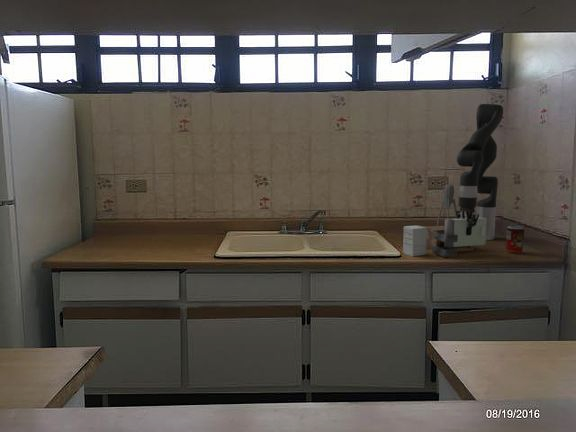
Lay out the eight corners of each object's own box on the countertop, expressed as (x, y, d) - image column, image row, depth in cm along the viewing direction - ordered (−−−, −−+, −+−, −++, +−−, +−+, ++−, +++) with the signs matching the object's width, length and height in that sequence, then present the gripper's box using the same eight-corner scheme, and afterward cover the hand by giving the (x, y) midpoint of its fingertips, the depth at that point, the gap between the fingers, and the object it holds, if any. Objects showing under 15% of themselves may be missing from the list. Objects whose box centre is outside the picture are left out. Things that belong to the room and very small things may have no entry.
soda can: (513, 254, 201) (515, 227, 199) (502, 251, 207) (503, 225, 206) (526, 253, 203) (528, 227, 201) (514, 250, 209) (516, 224, 208)
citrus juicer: (447, 246, 220) (450, 185, 216) (429, 243, 227) (431, 184, 223) (458, 242, 227) (461, 184, 223) (440, 240, 235) (443, 183, 231)
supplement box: (415, 251, 207) (416, 225, 205) (426, 255, 200) (427, 227, 198) (402, 253, 204) (403, 226, 203) (412, 256, 198) (413, 228, 196)
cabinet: (419, 248, 214) (419, 226, 213) (459, 245, 220) (460, 224, 218) (444, 258, 194) (446, 234, 193) (488, 255, 200) (489, 232, 198)
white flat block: (442, 245, 199) (443, 219, 197) (480, 243, 204) (481, 217, 202) (448, 247, 194) (449, 220, 193) (487, 245, 199) (488, 218, 198)
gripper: (486, 197, 191) (483, 236, 193) (465, 194, 204) (463, 231, 207) (470, 197, 189) (468, 237, 191) (450, 194, 202) (449, 232, 205)
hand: (465, 234), depth 199 cm, fingers closed on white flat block, 3 cm apart
